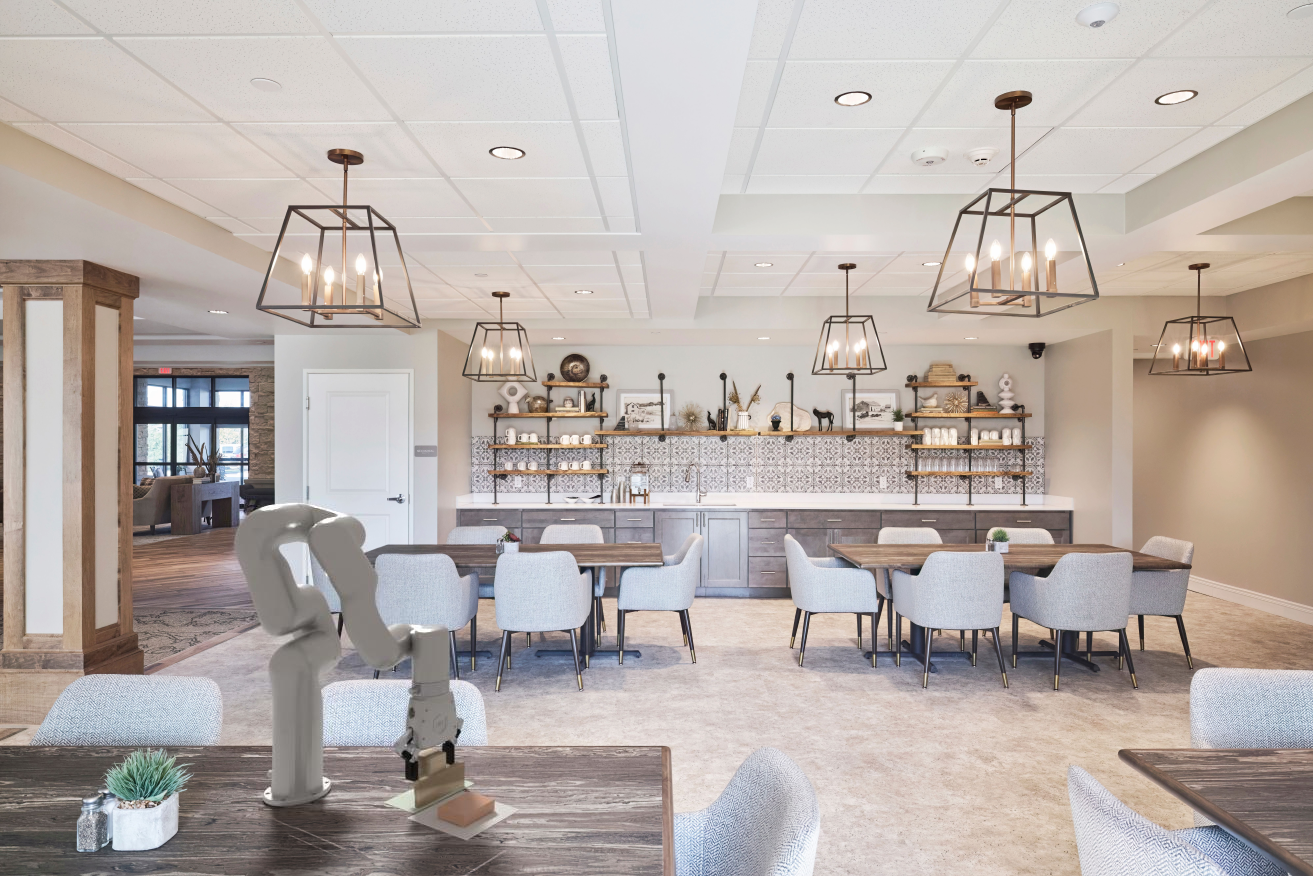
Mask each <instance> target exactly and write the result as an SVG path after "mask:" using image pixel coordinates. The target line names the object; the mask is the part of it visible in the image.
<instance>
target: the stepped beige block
mask: <svg viewBox="0 0 1313 876" xmlns="http://www.w3.org/2000/svg"><path fill="white" fill-rule="evenodd" d="M416 761H418V780H416V781H415V782H413V789H414V794H415V807H416V808H421V807H423V806H425V805H427V804H429V803H431V802H433V801H435V800H437V799H439V798H441V797H443V796H445V795H447V794H449V793H451V792H453V791H455V790H457V789H459V788H461V787H463V786H465V780H466V779H465V770H466V769H465V761H464V760H458V761H455V763H454V764H452V765H449V764H448V765H447V764H446V752H443V751H442V750H440V749H439V750H438V749H435V748H433V747H432V748H429V749H426V750H421V751H420V753H419V755H418V756H417V758H416Z"/></svg>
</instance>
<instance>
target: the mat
mask: <svg viewBox="0 0 1313 876" xmlns="http://www.w3.org/2000/svg"><path fill="white" fill-rule="evenodd" d="M467 792H468V791H464V790H461V791H459V792H457V793H455V794H452V795H450V796H448V797H446V798H444V799H442V800H440V801H438V802H436V803H434V804H432V805H430V806H428V807H426V808H424V809H422V810H420V811H418V812H416V813H414V814H413V815H410V816H409V817H407V818H406V819H408V820H409V821H413V822H415V823H418V824H421V825H423V826H426V827H429V828H432V829H434V830H436V831H439V832H441V833H442V832H443V833H445V834H448V835H451V836H453V837H456V838H459V839H461V840H464V841H468V840H471V839H472V838H473V837H475V836H477V835H478V834H481V833H482V832H485V830H487V829H489V828H491V827H493V826H494V825H497V824H498V823H499V822H501V821H503V820H504V819H507V818H509V817H510V816H513V814H515V813H517V812H518V811H521V809H520V808H517V807H514V806H511V805H509V804H505V803H501V802H498V801H495V810H494V811H492V812H490V813H488V814H486V815H484V816H483V817H481V818H479V819H477V820H475V821H474V822H472V823H470V824H468V825H466V826H464V827H462V826H460V825H457V824H454V823H451V822H448V821H446V820H443V819H440V818H438V807H439V806H441V805H443V804H445V803H447V802H449V801H451V800H453V799H455V798H457V797H459V796H461V795H463V794H465V793H467Z"/></svg>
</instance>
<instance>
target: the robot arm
mask: <svg viewBox="0 0 1313 876" xmlns="http://www.w3.org/2000/svg"><path fill="white" fill-rule="evenodd" d="M366 537H367V534H366V529H365V527H364V525H363V524H362V522H361V521H360V520H359V519H357V518H356V517H354V516H352V515H349V514H346V513H341V512H337V511H334V510H331V509H326V508H323V507H319V506H316V505H313V504H308V503H304V502H303V503H302V502H288V503H278V504H271V505H266V506H262V507H259V508H257V509H255V510H253V511H252V512H250V513H249V514H248V515H246V516H245V517H244V518H243V520H242V521H241V522H240V524H239V526H238V527H237V529H236V533H235V535H234V543H233V545H234V552H235V555H236V558H237V561H238V563H239V566H240V569H241V570H242V573H243V575H244V578H245V581H246V584H247V588H248V591H249V594H250V597H251V600H252V603H253V607H254V609H255V612H256V615H257V618H258V621H259V624H260V626H261V627H262V629H263V631H264V632H265V633H266V634H267V635H269V636H272V637H276V638H277V637H279V638H280V637H285V636H288V635H290V634H291V635H292V637H293V639H292V640H290V641H287V642H285V643H284V644H282V645H281V646H279V648H278V649H276V650H275V652H274V653H273V655H272V656H271V658H270V660H269V662H268V668H267V669H268V671H267V672H268V680H269V685H270V691H271V700H272V701H271V703H272V707H271V708H272V719H271V720H272V746H271V747H272V749H271V750H272V751H271V752H272V753H271V755H272V758H271V759H272V762H271V763H272V765H271V768H272V769H269V770H268V771H267V772H266V777H268V778H270V779H271V781H270V782H271V783H270V784H271V785H270V786H268V788H266V789H265V791H264V792H263V794H262V795H263V796H262V797H263V798H262V800H263V801H264V803H265V804H268V805H269V806H274V807H292V806H300V805H304V804H308V803H311V802H314V801H316V800H318V799H320V798H322V797H324V796H325V795H327V794H328V793H329V792H330V791H331V789H332V788H331V787H332V781H331V779H330V778H328V777H326V776H324V696H323V693H322V690H321V686H320V682H319V678H320V677H322V676H323V675H325V674H327V673H328V672H330V671H331V670H333V669H334V668H335V667H336V666H337V665H338V663H339V662H340V660H341V658H342V653H343V652H342V650H343V649H342V642H341V638H340V635H339V632H338V629H337V626H336V624H335V620H334V618H333V614H332V612H331V609H330V606H329V603H328V600H327V598H326V597H325V595H324V594H323V592H322V591H320V589H319V588H317V586H314V585H312V584H308V583H297V582H296V579H295V577H294V574H293V570H292V568H291V566H290V564H289V562H288V560H287V559H286V558H285V556H284V555H283V553H282V552H281V551H280V546H281V545H285V544H291V543H295V542H299V543H304V544H308V547H309V549H310V552H311V553H312V555H313V556H314V558H315V560H316V562H317V563H318V564H319V567H320V568H321V569H322V571H323V572H324V575H325V576H326V577H327V579H328V581H329V582H330V584H331V586H332V588H333V589H334V591H335V592H336V593H337V596H338V598H339V601H340V604H339V605H340V612H341V615H342V620H343V626H344V629H345V632H346V633H347V635H348V638H349V640H350V642H351V643H352V645H353V646H354V648H355V650H356V651H357V653H358V654H359V656H360V657H361V659H362V660H363V661H364V662H365V664H366V665H368V666H369V667H370V668H371V669H374V670H376V671H387V670H391V669H392V668H395V666H398V664H400V663H401V662H403V661H405V660H408V659H410V658H411V687H408V690H407V693H408V694H409V695H411V696H410V697H409V699H408V705H407V710H406V711H407V712H406V720H405V732H403V734H402V735H401V736H400V737H399V738H398V739H397V740H396V741H395V742H394V744H393V746H394V749H395V750H396V752H397V755H398V756H399V757H400V758H402V760H404V772H405V773H404V775H405V779H406V780H408V781H411V782H413V783H414V782H415V781H416V780H418V761H416V758H417V756H418V755H419V753H420V751H422V750H426V749H429V748H432V749H433V747H437V746H438V745H441V744H442V745H441V751H443V752H446V765H448V766H449V765H452V764H454V763H456V761H455V758H456V755H455V754H456V753H455V752H456V750H455V749H456V748H455V747H456V745H457V743H458V738H459V737H460V736H461V735H460V734H461V732H462V729H463V725H464V722H465V720H464V718H462V717H459V716H457V708H456V707H457V706H456V700H455V699H456V698H455V696H454V691H453V690H452V689H450V686H451V685H450V681H451V679H450V671H451V670H450V664H451V663H450V659H451V658H450V643H451V638H450V630H449V628H448V627H446V626H444V625H439V624H430V625H428V624H427V625H418V624H417V625H416V624H414V623H413V624H412V623H406V622H398V623H394V624H391V625H389V626H387V625H386V624H385V622H384V620H383V618H382V617H381V615H380V613H379V610H378V608H377V604H376V603H377V602H376V592H377V587H378V582H379V581H378V580H379V574H378V572H377V571H376V569H375V567H374V565H372V563H371V562H370V560H369V558H368V556H366V553H365V552H364V550H363V549H362V547H363V545H364V544H365V543H366Z"/></svg>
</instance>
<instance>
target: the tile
mask: <svg viewBox="0 0 1313 876" xmlns="http://www.w3.org/2000/svg"><path fill="white" fill-rule="evenodd" d="M466 792H467V793H465V794H463V795H461V796H459V797H457V798H455V799H453V800H451V801H449V802H447V803H445V804H443V805H441V806H439V807H438V818H440V819H443V820H446V821H448V822H451V823H454V824H457V825H460V826H462V827H464V826H466V825H468V824H470V823H472V822H474V821H475V820H477V819H479V818H481V817H483V816H484V815H486V814H488V813H490V812H492V811H494V810H495V802H496V800H495V799H494V798H491V797H488V796H484V795H481V794H479V793H476V792H472V791H466Z"/></svg>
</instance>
